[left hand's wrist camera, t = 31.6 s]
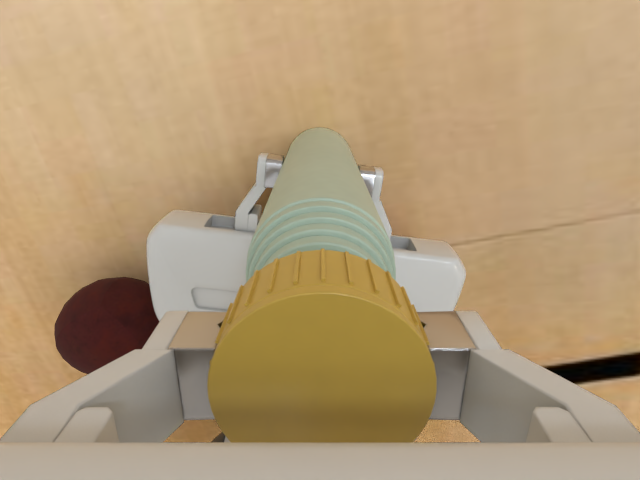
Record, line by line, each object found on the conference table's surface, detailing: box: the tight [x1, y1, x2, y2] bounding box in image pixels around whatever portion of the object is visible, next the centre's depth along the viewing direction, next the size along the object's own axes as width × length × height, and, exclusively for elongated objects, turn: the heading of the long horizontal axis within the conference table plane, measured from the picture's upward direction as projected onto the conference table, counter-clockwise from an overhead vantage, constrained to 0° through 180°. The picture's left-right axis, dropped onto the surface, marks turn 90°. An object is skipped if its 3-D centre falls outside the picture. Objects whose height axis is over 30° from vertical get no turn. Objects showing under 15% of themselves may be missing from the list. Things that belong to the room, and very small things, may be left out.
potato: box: [55, 277, 160, 374], centre depth 32 cm, size 7×8×7 cm
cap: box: [207, 249, 437, 442], centre depth 9 cm, size 4×4×2 cm
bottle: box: [246, 127, 396, 282], centre depth 20 cm, size 5×5×24 cm
